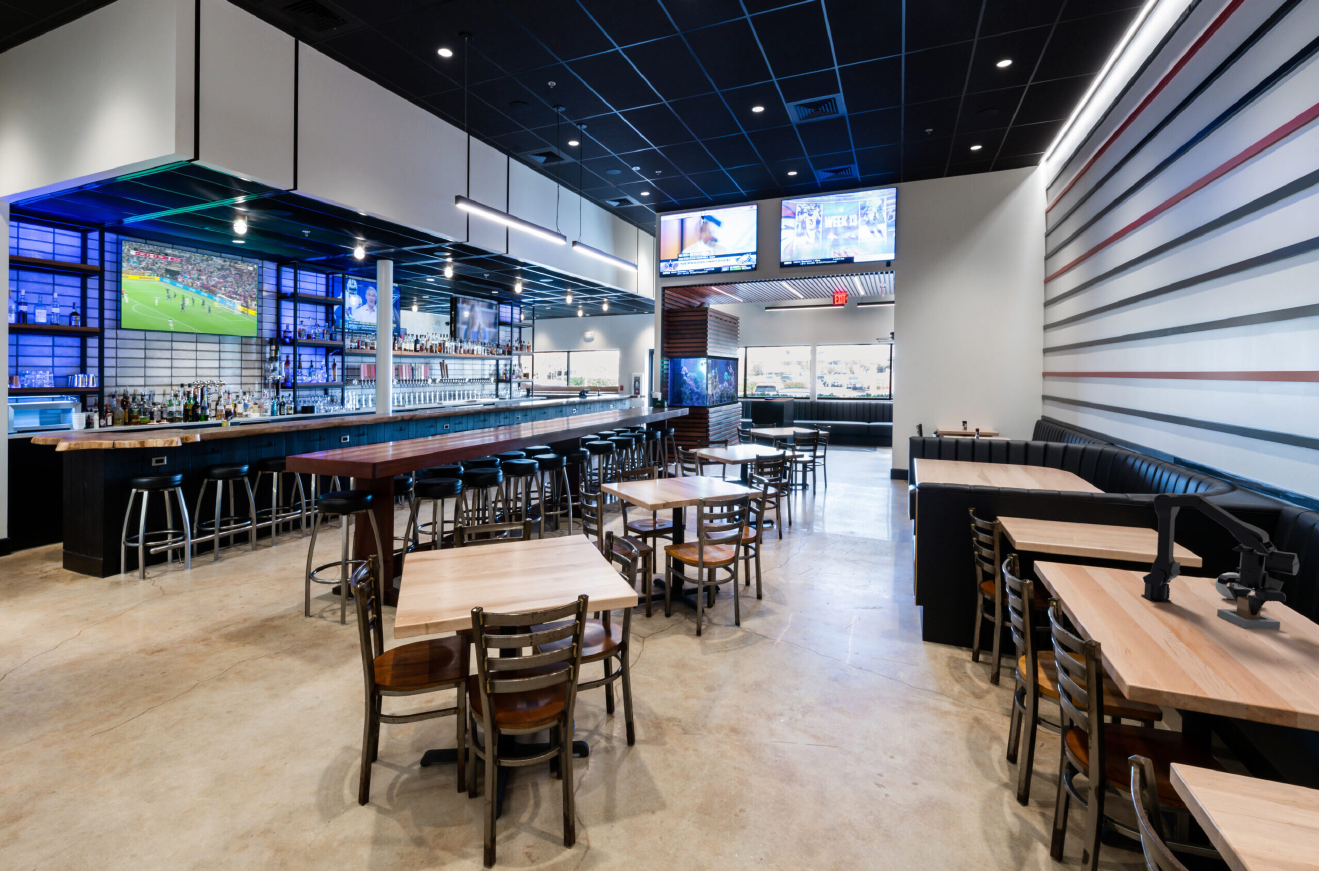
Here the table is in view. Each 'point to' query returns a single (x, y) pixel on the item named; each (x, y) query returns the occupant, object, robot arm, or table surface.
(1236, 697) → the table surface
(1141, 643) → the table surface
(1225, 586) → the donut
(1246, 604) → the walnut post
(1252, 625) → the square well
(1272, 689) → the table surface
